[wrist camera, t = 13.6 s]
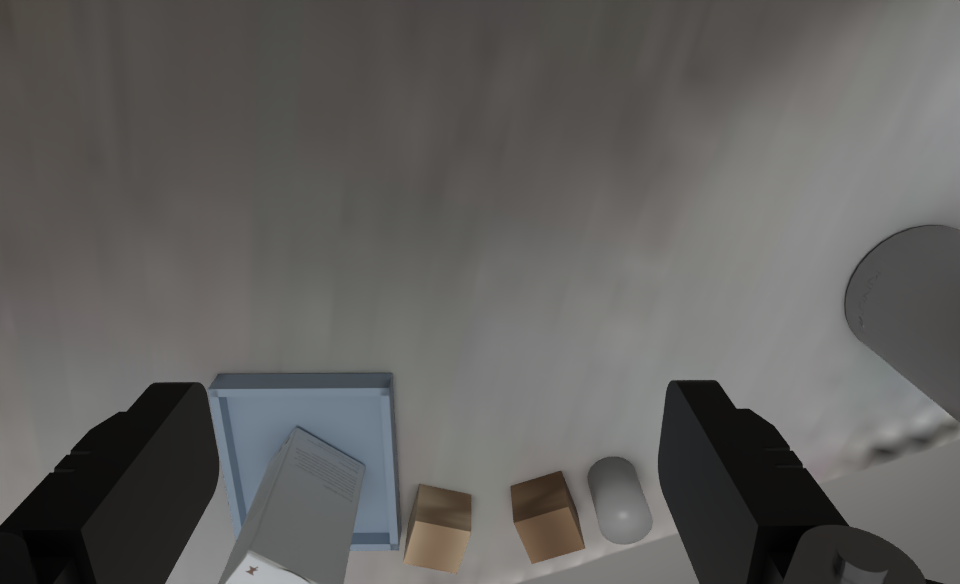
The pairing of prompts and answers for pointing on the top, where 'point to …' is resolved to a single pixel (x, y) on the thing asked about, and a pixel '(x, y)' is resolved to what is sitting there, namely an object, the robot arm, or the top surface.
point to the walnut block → (546, 517)
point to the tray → (323, 414)
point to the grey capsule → (619, 501)
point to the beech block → (438, 529)
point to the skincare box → (299, 517)
